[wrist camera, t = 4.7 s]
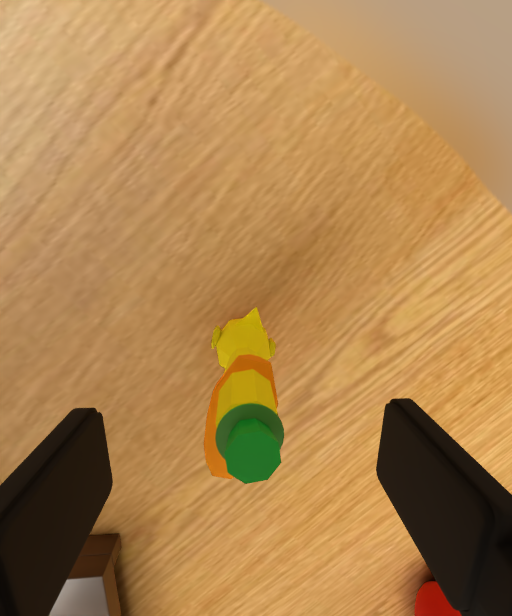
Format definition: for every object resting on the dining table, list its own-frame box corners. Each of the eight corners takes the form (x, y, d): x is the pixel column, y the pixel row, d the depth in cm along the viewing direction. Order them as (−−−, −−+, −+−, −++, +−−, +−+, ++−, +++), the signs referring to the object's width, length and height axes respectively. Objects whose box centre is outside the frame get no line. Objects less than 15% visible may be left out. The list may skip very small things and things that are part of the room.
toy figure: (250, 384, 20) (270, 581, 9) (202, 374, 20) (155, 568, 8) (276, 297, 19) (342, 393, 7) (225, 284, 18) (206, 364, 7)
